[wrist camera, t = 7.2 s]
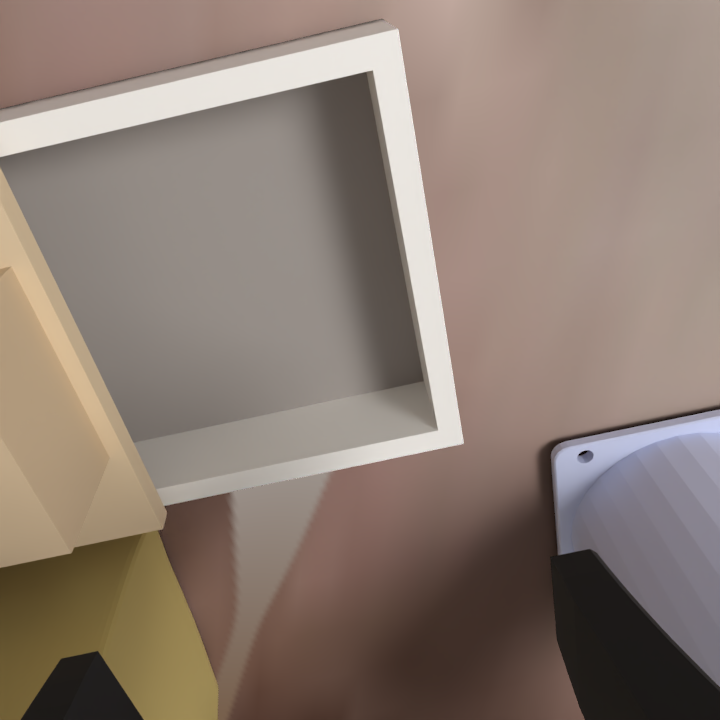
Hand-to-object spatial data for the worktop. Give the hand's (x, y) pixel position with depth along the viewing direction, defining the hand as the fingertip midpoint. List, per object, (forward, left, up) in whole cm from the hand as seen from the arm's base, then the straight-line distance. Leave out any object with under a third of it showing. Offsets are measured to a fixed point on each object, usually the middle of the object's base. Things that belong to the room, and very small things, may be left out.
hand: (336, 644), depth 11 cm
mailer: (+3, -3, -10) cm, 11 cm away
